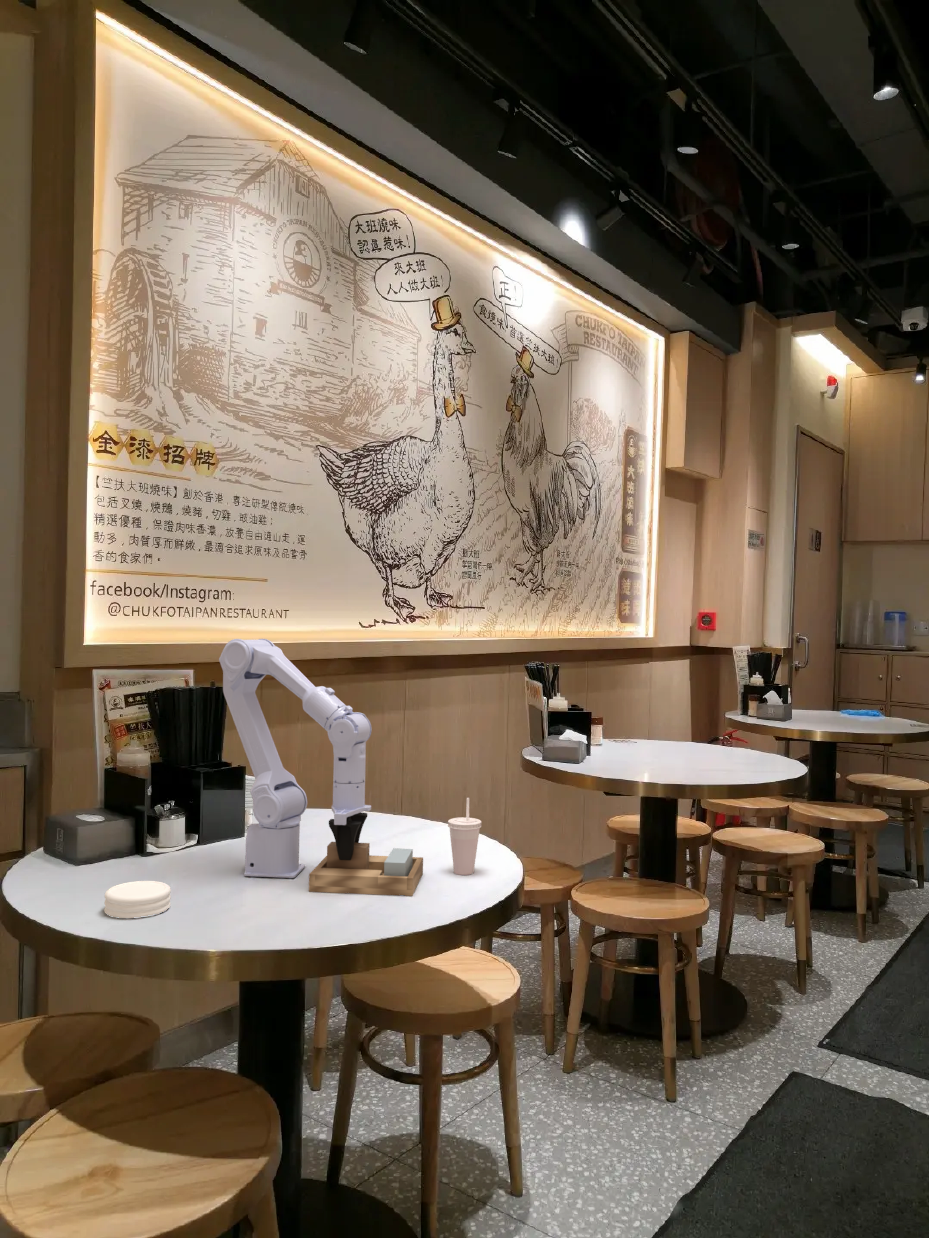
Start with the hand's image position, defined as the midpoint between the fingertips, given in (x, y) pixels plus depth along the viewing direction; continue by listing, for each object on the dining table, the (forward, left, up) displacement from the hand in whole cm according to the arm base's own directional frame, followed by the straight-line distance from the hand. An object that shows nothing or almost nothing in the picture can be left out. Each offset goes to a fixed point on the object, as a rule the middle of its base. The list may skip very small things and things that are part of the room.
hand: (347, 856), depth 159 cm
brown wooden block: (0, 0, -3) cm, 3 cm away
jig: (+4, 0, -4) cm, 6 cm away
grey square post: (+9, 0, -3) cm, 10 cm away
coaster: (-30, -20, -5) cm, 36 cm away
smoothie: (+20, +9, -5) cm, 23 cm away
